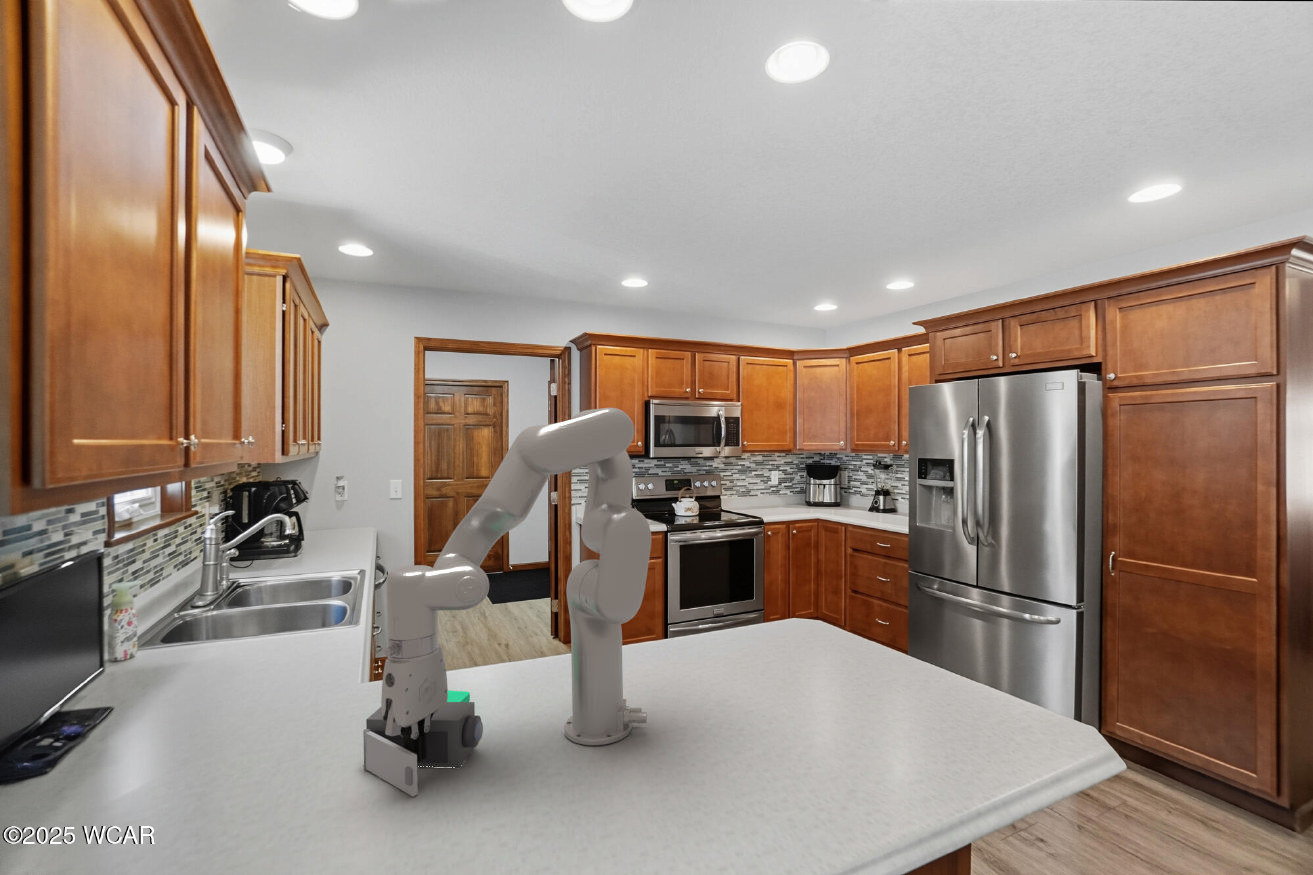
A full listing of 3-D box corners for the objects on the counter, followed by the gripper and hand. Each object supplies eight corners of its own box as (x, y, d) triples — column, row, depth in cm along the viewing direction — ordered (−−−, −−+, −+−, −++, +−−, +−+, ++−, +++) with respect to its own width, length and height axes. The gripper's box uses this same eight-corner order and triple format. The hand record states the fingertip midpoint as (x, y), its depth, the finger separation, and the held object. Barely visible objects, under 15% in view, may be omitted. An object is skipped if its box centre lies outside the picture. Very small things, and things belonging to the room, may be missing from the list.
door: (418, 794, 92) (417, 753, 92) (409, 799, 91) (409, 757, 91) (368, 766, 101) (368, 727, 101) (360, 769, 100) (359, 731, 100)
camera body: (487, 747, 107) (486, 696, 107) (472, 769, 100) (471, 714, 100) (388, 745, 108) (387, 695, 108) (366, 767, 101) (365, 713, 101)
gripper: (394, 663, 88) (396, 789, 88) (463, 632, 102) (465, 741, 102) (356, 657, 91) (359, 778, 91) (429, 628, 105) (431, 733, 105)
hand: (415, 758), depth 96 cm, fingers closed
